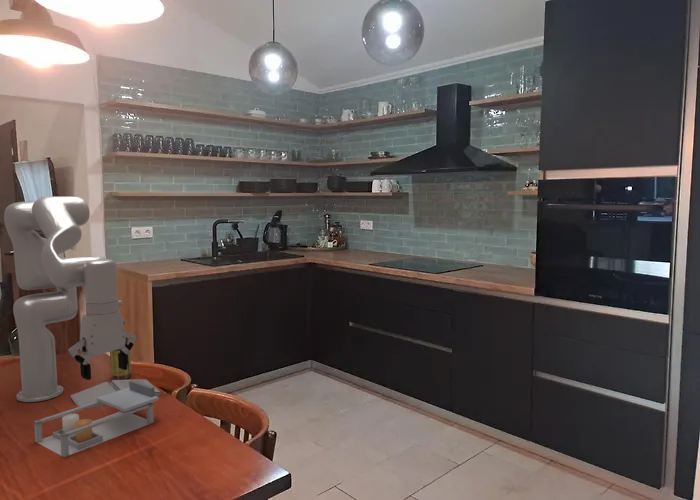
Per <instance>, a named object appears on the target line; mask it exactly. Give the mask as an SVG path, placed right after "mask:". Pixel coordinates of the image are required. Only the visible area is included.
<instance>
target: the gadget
mask: <svg viewBox="0 0 700 500" xmlns="http://www.w3.org/2000/svg"><path fill="white" fill-rule="evenodd" d="M132 380H134V381H137V382H140V383H143V384H146V385H149V386H152V387H154V389H155V396H157V397H159V396H162V394H161V391H160V390H159V389H158V388H157V387H156V386H154V385H153V383H151V382H149V380H148V379H145V378H143V379H141V378H140V379H124V380H115V379H111V380H110V382H108V381H104V382H101V383H99V384H96V385H94V386H91V387H89V388H86V389H83V390H81V391H79V392H78V391H77V392H76V393H74V394H71V395H70V399H71V400H72V402H73V403H74V405H77V407H80V406H83V405H86V404H90V403H93V402H96V401H97V399H96V398H97V397H100V396H103V395H107V394H110V393H113V392H116V391H119V390H122V389H126V388H129V381H132ZM102 406H107V405H106V404H104V403H102V404H99V405H96V406H93V407H89V408H86V409H83V410H82V411H84V410H88V409H92V408H96V407H97V408H98V407H102Z"/></svg>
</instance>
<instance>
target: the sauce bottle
mask: <svg viewBox="0 0 700 500" xmlns="http://www.w3.org/2000/svg"><path fill="white" fill-rule="evenodd" d="M123 322H124V326H125V325H126V323H125V319H123ZM125 339H126V342H125V344H126V343H127V342H128V338H127V337H125ZM118 353H120V351H119V350H115V351H111V352H109V355H110V367H111V368H110V369H111V370H110V371H111V377H112V380H128V379H129V378H131V377H132V361H131V360H132V359H131V352H130V353H129V354H128V365H127V370H123V369H121V368H119V366H118Z"/></svg>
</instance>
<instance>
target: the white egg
mask: <svg viewBox="0 0 700 500" xmlns="http://www.w3.org/2000/svg"><path fill="white" fill-rule="evenodd" d="M79 420H80V415H79V414H78V413H71V414H68V415H65V416H62V417H61V422H62V423H61V424H62V429H63V433H66V432H69V431H71V430H74V429H75V422H77V421H79ZM73 435H74V434H73Z"/></svg>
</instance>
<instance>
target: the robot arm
mask: <svg viewBox="0 0 700 500" xmlns="http://www.w3.org/2000/svg"><path fill="white" fill-rule="evenodd" d="M90 215H91V213H90V208H89V205H88V203H87V202H86V201H85V200H84V199H83V198H82V197H79V196H73V195H72V196H69V195H68V196H66V195H65V196H61V195H60V196H54V195H53V196H42V197H41V198H38V199H36V200H35V201H32V200H31V201H29V200H28V201H19V202H13V203H11V204H9V205H8V206H6V208H5V211H4V216H3V219H4V220H3V221H4V225H5V229H6V231H7V234H8V236H9V238H10V241H11V244H12V248H13V258H14V270H15V278H16V279H15V280H16V283H17V286H18V287H19V289H21V290H24V291H34V290H35V291H36V290H43V289H53V288H56V291H50V292H42V293H41V292H40V293H33V294H28V295H24V296H21V297H19V298H18V299H16V300H15V302H14V303H13V308H12V310H13V311H12V312H13V317H14V320H15V325H16V327H17V329H16V330H17V335H18V337H17V338H18V349H19V361H20V377H21V382H20V383H21V390H19V392H18V393H16V400H17V401H19V402H23V403H35V402H42V401H47V400H51V399H53V398H54V399H55V398H57V397H59V396H61V395H62V394H63V392H64V387H63V386H62V385H60V384H58V373H57V371H58V369H57V354H56V338H55V336H54V334H53V333H52V331H50V330H49V329H48V328H47V327H46V325H48V324H49V325H50V324H54V323H59V322H65V321H70V320H72V319H74V318H75V317H76V316H77V313H78V293H77V290H78V289H77V287H84V298H85V299H84V301H85V314H83V315H82V316H81V317H82V318H81V322H80V332H79V341H78V342H76V343H75V344H74V345H72V346H70V347H69V348H68V350H67V352H68V353H69V355H70V356H71V357H72V359H73V360H74V361H76V362H78V363H79V366H80V376H81V378H82V379H84V380H86V381H90V380H91V379H92V371H91V368H92V367H91V364H90V363H89V362H90V361H91V359H92V358H93V356H98V355H102V354H106V353H110V352H111V351H115V350H119V351H120V353H118V366H119V368H121V369H123V370H127V365H128V354H129V353H130V354H131V350H132V349H133V347H134V343H135V341H136V339H137V335H136V334H133V333H130V332H126V329H125V325H124V322H125V321H124V322H123V320H124V318H123V315H122V312H121V311H120V306H123V304H124V303H123V300H119V293H118V292H119V291H118V290H119V289H118V268H117V263H116V261H115V260H113V259H109V258H105V257H103V256H100V255H91V256H78V257H76V256H75V257H66V256H59V255H60V254H63V253H64V252H66V251H68V250H70V249H72V248H73V247H75V246H77V244H78V243H79V242H80V240H81V239H82V237H83V236H82V235H83V234H82V233H83V232H82V230H81V228H80V227H81V226H83V225H85V224H86V223H88V221H89V219H90ZM40 230H41V232H42V233H43V235H44V236H45V239H46V241H45V240H44V239H43V237H42V236H41V235H40V233H38V232H37V231H40ZM125 337H127V338H128V342H127V343H126V344H125V342H126V339H125ZM79 350H80V352H81V355H80V354H79V352H78V351H79Z"/></svg>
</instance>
